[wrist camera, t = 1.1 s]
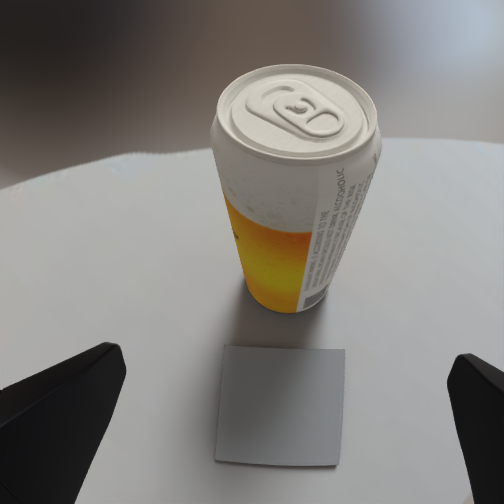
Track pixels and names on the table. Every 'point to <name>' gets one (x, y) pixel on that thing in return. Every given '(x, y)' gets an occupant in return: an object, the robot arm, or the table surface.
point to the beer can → (293, 176)
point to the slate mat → (281, 406)
